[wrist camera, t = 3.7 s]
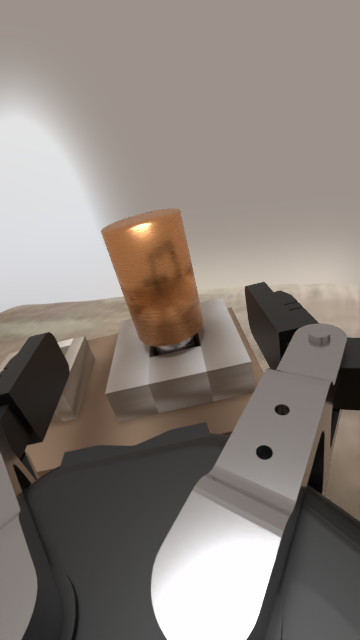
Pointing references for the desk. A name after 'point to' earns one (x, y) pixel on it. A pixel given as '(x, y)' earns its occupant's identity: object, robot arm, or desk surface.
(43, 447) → the tool board
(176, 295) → the copper cup
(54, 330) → the desk surface
